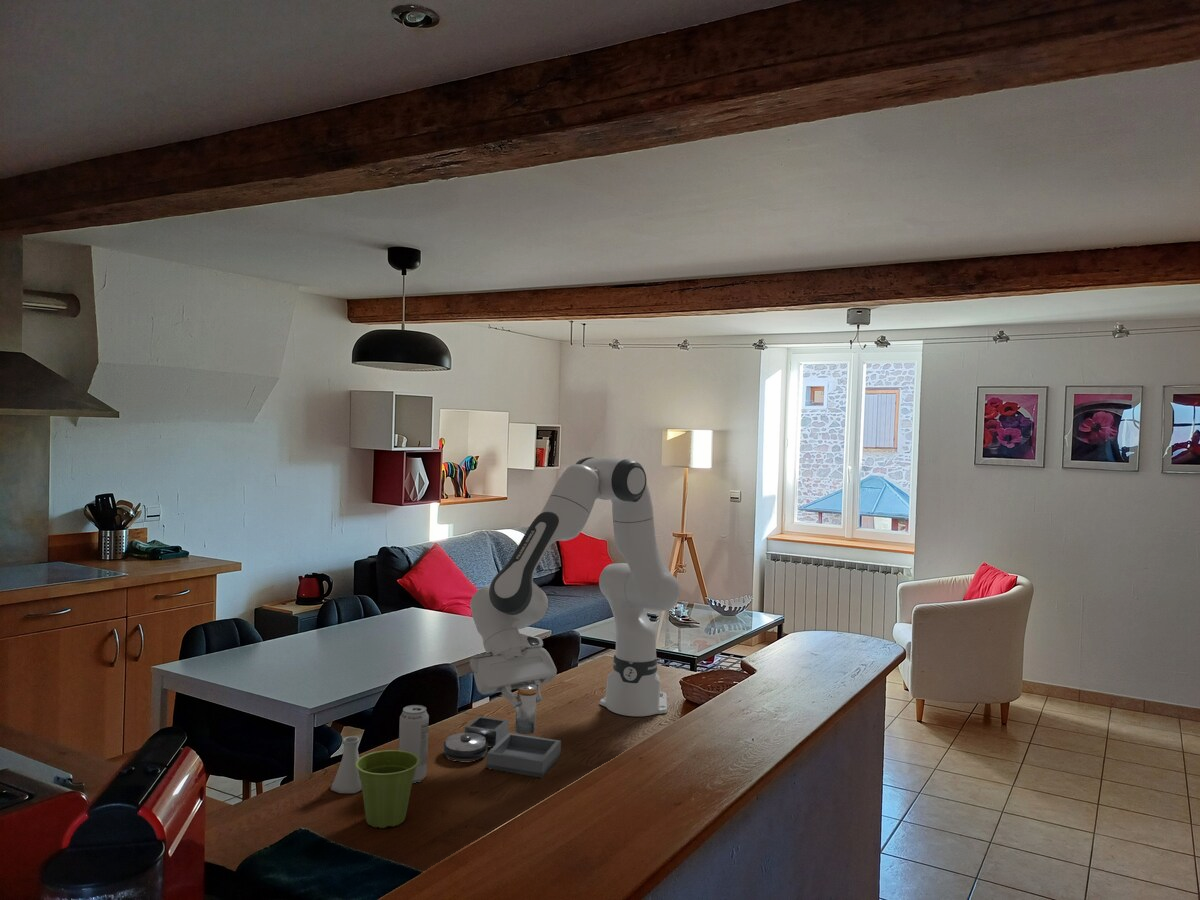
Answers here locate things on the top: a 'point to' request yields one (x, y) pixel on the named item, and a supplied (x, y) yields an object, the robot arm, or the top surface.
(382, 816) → the plant pot
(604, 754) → the top surface
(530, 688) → the glass shaker
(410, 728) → the energy drink can
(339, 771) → the flask
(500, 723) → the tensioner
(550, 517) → the robot arm
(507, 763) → the tray
